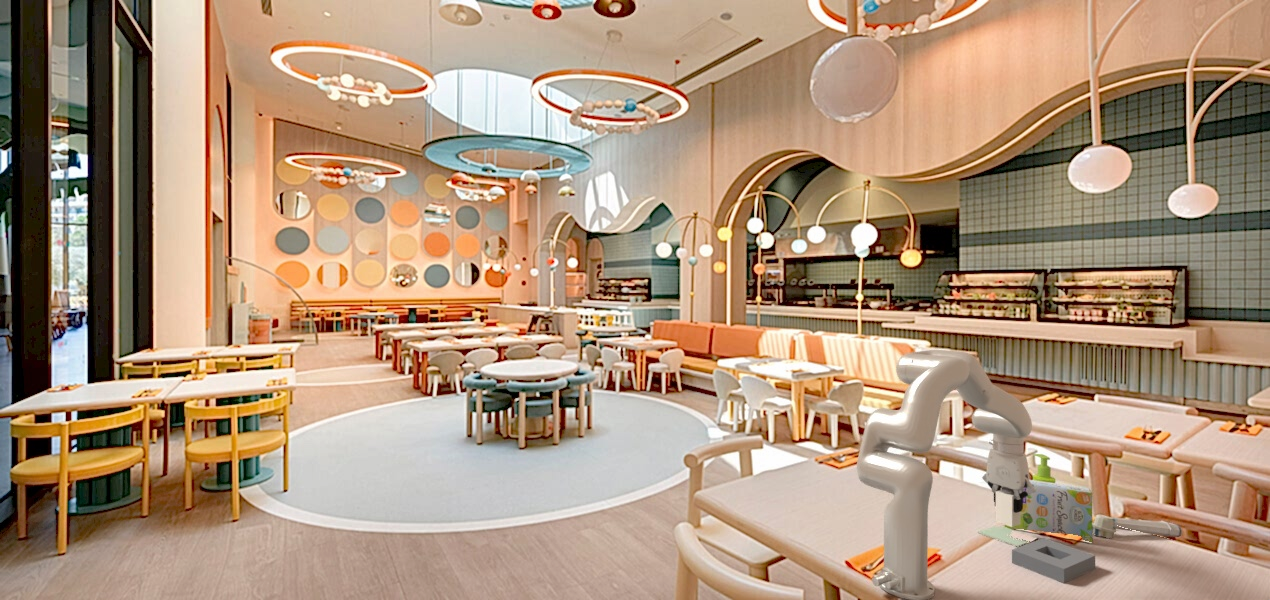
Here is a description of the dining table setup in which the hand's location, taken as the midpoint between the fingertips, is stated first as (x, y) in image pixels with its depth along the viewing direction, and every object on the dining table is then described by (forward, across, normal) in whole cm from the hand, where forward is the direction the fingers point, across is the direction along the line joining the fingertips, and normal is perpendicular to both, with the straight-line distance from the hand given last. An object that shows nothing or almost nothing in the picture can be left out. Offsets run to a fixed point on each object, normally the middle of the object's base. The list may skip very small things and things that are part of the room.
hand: (1008, 508), depth 164 cm
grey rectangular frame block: (+8, +16, -9) cm, 20 cm away
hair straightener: (+9, +17, +35) cm, 40 cm away
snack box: (+9, +4, +13) cm, 16 cm away
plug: (+4, 0, 0) cm, 4 cm away
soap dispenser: (+9, -3, +26) cm, 27 cm away
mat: (+8, 0, 0) cm, 8 cm away
